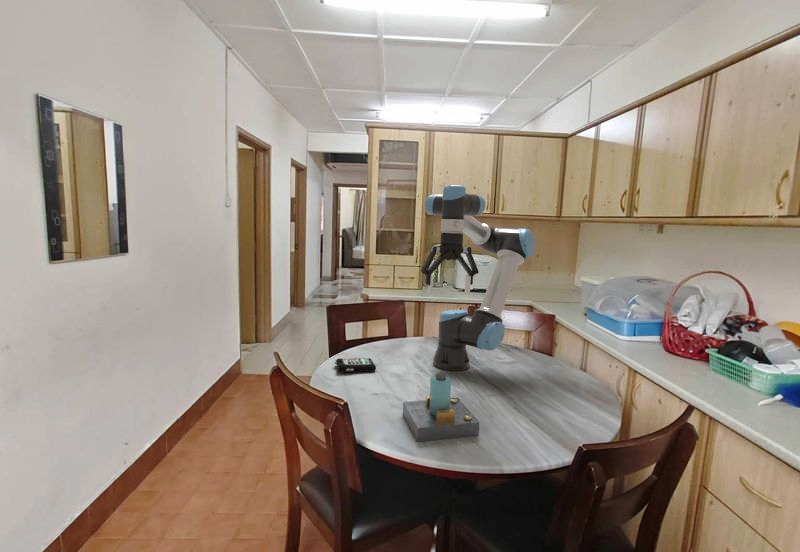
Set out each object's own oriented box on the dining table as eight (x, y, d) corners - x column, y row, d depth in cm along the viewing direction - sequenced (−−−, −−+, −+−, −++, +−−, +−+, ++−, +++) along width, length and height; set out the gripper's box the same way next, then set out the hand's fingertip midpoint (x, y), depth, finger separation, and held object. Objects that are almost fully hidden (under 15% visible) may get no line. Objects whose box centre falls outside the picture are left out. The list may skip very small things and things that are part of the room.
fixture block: (457, 409, 129) (458, 390, 128) (478, 435, 114) (479, 413, 113) (402, 414, 125) (403, 394, 124) (417, 441, 110) (418, 419, 109)
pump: (445, 406, 122) (447, 369, 121) (452, 415, 117) (454, 377, 115) (426, 407, 121) (428, 371, 120) (433, 417, 115) (434, 378, 114)
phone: (376, 373, 158) (377, 362, 158) (338, 376, 154) (338, 365, 153) (370, 363, 168) (371, 353, 168) (334, 366, 164) (334, 355, 164)
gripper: (419, 231, 130) (417, 296, 133) (490, 233, 136) (486, 295, 139) (413, 230, 137) (411, 292, 140) (481, 232, 143) (477, 291, 146)
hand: (448, 294), depth 139 cm, fingers open, 13 cm apart
